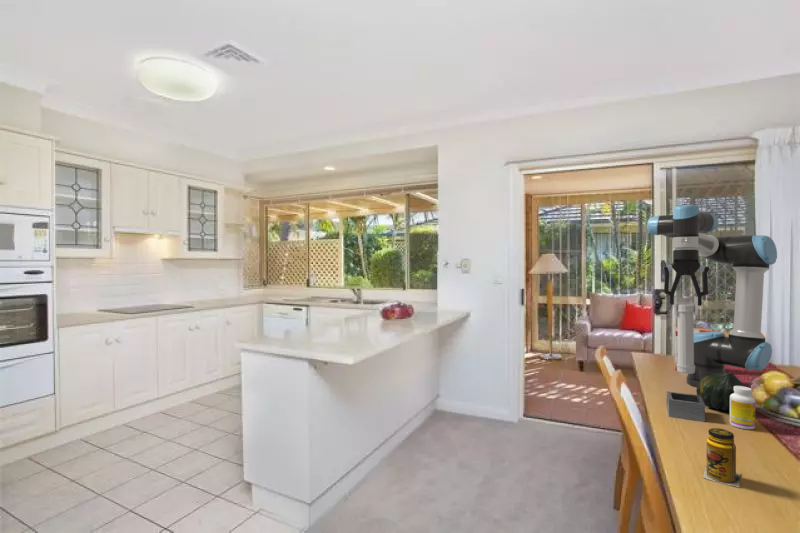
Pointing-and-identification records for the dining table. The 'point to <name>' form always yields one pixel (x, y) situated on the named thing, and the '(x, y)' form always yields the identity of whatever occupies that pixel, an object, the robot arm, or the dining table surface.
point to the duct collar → (685, 406)
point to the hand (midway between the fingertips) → (685, 314)
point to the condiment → (721, 458)
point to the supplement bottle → (742, 408)
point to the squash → (718, 390)
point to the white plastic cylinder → (685, 338)
